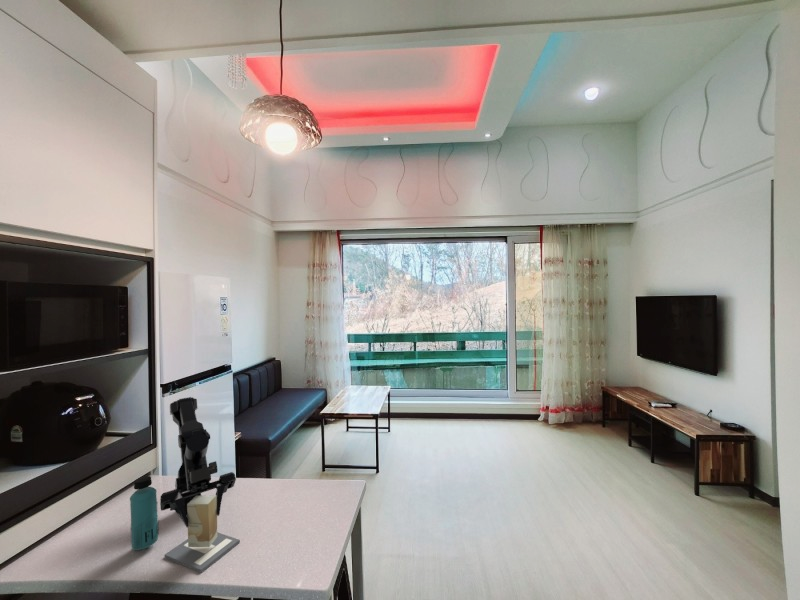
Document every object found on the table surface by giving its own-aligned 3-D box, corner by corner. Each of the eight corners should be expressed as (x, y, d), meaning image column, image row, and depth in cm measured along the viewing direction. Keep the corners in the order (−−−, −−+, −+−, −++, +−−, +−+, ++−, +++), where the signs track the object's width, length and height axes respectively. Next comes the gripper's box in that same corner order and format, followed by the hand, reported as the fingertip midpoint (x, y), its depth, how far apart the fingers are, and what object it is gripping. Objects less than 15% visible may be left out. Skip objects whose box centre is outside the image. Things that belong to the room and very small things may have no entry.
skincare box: (187, 548, 95) (185, 504, 95) (197, 537, 99) (194, 495, 99) (210, 547, 95) (208, 503, 95) (219, 536, 99) (216, 494, 99)
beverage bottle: (144, 557, 96) (141, 485, 96) (124, 554, 97) (122, 483, 97) (164, 541, 102) (162, 473, 102) (146, 538, 103) (143, 472, 103)
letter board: (164, 557, 95) (164, 554, 95) (204, 530, 106) (204, 527, 106) (201, 572, 89) (201, 569, 89) (239, 542, 100) (239, 539, 100)
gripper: (159, 465, 94) (163, 525, 86) (233, 445, 106) (243, 497, 97) (158, 481, 100) (162, 539, 92) (228, 461, 112) (237, 511, 103)
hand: (203, 520), depth 96 cm, fingers closed on skincare box, 7 cm apart
